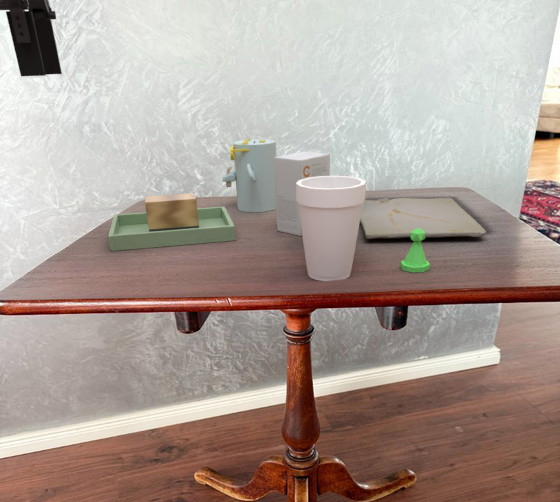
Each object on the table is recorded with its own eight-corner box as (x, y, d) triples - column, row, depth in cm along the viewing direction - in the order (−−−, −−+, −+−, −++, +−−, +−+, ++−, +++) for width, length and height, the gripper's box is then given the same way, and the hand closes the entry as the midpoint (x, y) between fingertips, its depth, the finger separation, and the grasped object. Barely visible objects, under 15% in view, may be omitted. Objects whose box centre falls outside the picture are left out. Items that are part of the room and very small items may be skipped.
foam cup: (297, 285, 76) (296, 190, 70) (296, 264, 84) (295, 176, 78) (365, 284, 76) (370, 188, 69) (357, 262, 84) (361, 174, 77)
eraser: (149, 236, 98) (144, 202, 95) (150, 229, 102) (145, 196, 99) (199, 232, 100) (196, 198, 97) (198, 225, 104) (194, 193, 101)
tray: (110, 251, 93) (107, 236, 92) (116, 228, 106) (113, 214, 105) (235, 240, 96) (234, 226, 95) (225, 219, 110) (224, 206, 108)
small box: (304, 221, 106) (304, 150, 99) (329, 227, 102) (331, 153, 96) (275, 230, 101) (273, 156, 94) (301, 236, 97) (300, 159, 91)
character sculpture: (229, 198, 126) (224, 135, 120) (278, 196, 126) (276, 134, 119) (220, 220, 109) (214, 148, 102) (277, 218, 109) (274, 146, 102)
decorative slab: (349, 207, 115) (349, 197, 114) (449, 204, 115) (450, 195, 114) (366, 245, 92) (366, 233, 91) (492, 242, 91) (494, 230, 90)
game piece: (410, 274, 79) (414, 233, 76) (394, 265, 82) (397, 226, 79) (435, 269, 80) (440, 229, 77) (418, 261, 84) (422, 222, 81)
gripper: (5, -184, 51) (58, 75, 61) (49, -110, 72) (83, 72, 82) (-82, -187, 49) (-12, 78, 60) (-11, -111, 71) (31, 74, 81)
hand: (43, 75), depth 71 cm, fingers open, 13 cm apart
